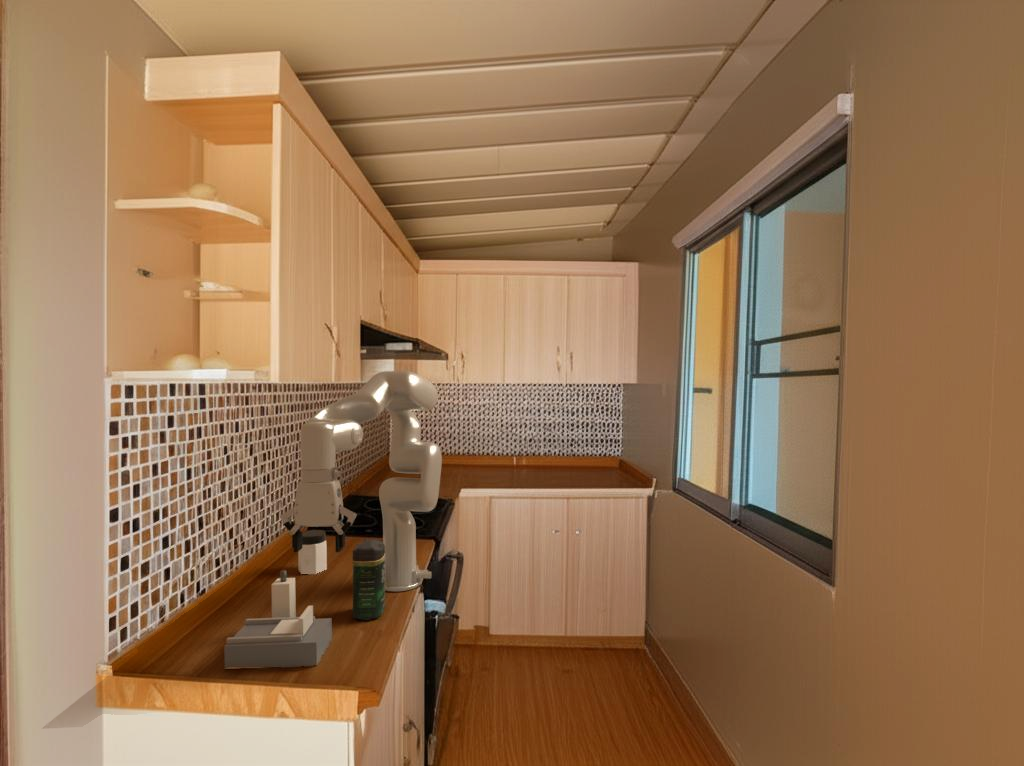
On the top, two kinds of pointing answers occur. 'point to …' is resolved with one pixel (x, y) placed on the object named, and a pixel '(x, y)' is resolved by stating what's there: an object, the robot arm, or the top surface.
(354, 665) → the top surface
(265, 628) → the socket block
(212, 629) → the top surface
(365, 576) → the coffee jar
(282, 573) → the plug
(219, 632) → the top surface
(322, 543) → the jar
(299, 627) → the shutter
